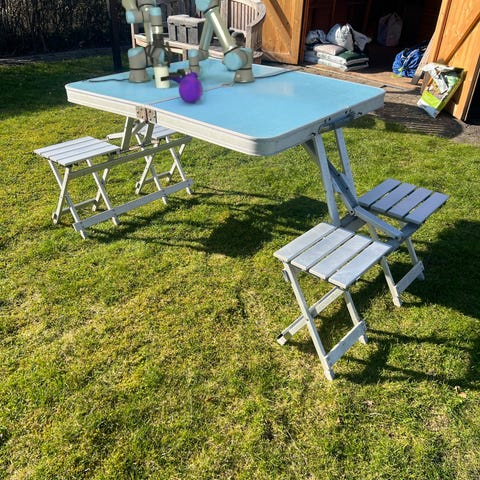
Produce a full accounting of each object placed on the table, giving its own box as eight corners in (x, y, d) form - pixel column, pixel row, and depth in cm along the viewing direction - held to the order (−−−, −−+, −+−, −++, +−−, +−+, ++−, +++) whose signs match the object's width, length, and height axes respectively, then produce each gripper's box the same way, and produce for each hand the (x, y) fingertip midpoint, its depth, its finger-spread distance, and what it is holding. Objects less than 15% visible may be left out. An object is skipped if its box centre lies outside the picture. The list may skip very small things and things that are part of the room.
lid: (155, 64, 318) (155, 61, 317) (170, 64, 317) (170, 61, 316) (150, 67, 309) (150, 64, 308) (166, 67, 307) (166, 64, 306)
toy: (192, 94, 296) (203, 108, 275) (166, 89, 289) (175, 104, 268) (197, 69, 288) (208, 82, 267) (170, 64, 281) (180, 77, 260)
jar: (167, 84, 326) (165, 62, 318) (172, 87, 318) (169, 64, 310) (154, 86, 322) (151, 63, 314) (158, 88, 314) (155, 66, 307)
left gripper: (139, 33, 301) (143, 68, 312) (172, 33, 297) (175, 68, 308) (143, 32, 308) (147, 66, 319) (176, 32, 303) (178, 66, 314)
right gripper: (192, 81, 321) (165, 86, 309) (175, 77, 336) (149, 81, 324) (191, 70, 317) (164, 74, 305) (174, 66, 332) (148, 70, 320)
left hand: (161, 67), depth 313 cm, fingers closed on lid, 11 cm apart
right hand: (156, 78), depth 314 cm, fingers closed on jar, 10 cm apart
